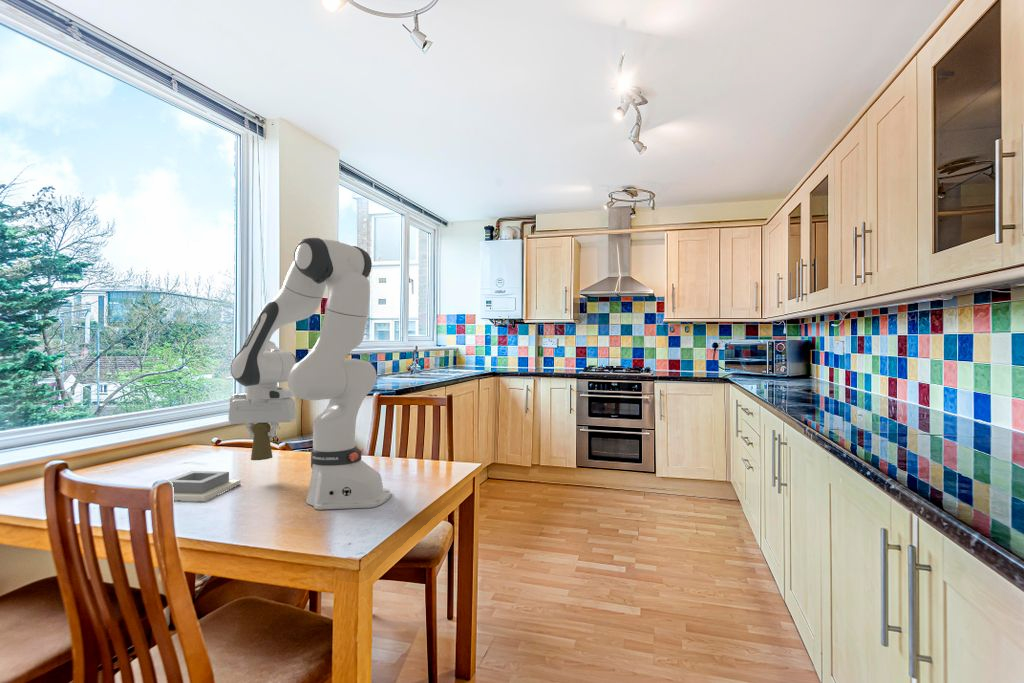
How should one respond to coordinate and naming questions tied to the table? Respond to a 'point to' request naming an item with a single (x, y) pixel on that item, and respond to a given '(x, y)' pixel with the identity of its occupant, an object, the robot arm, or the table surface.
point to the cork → (261, 442)
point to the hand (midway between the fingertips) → (262, 437)
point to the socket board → (207, 494)
